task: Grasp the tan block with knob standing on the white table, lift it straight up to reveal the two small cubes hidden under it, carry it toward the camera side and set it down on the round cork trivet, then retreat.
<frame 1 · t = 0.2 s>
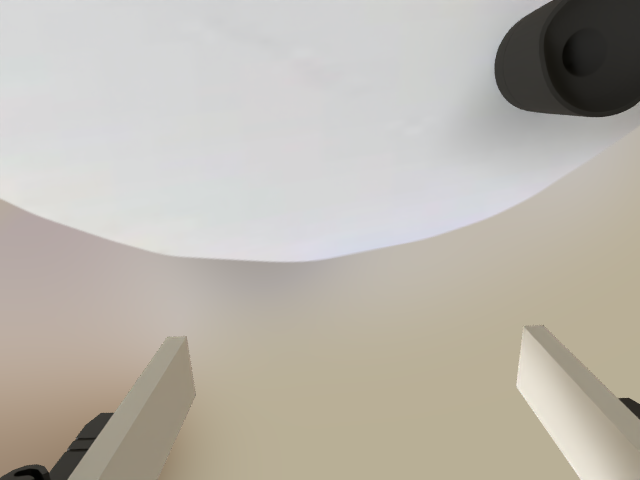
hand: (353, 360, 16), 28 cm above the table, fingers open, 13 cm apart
pen holder: (538, 63, 39), on the table
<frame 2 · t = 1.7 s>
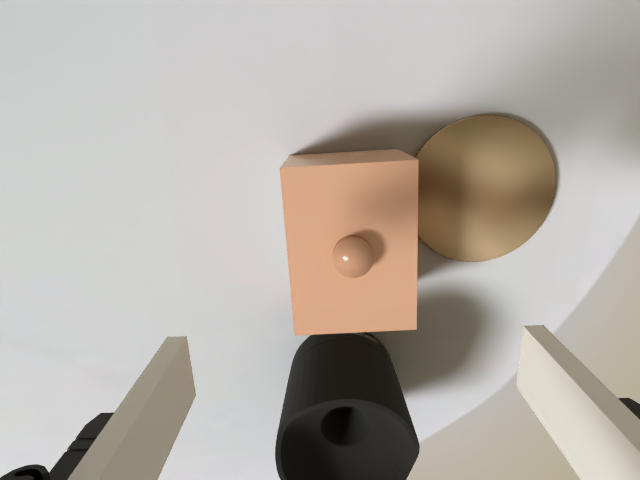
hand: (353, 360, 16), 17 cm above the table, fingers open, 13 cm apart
tan block with knob: (346, 223, 32), on the table
pen holder: (341, 366, 36), on the table
cork trivet: (477, 190, 31), on the table
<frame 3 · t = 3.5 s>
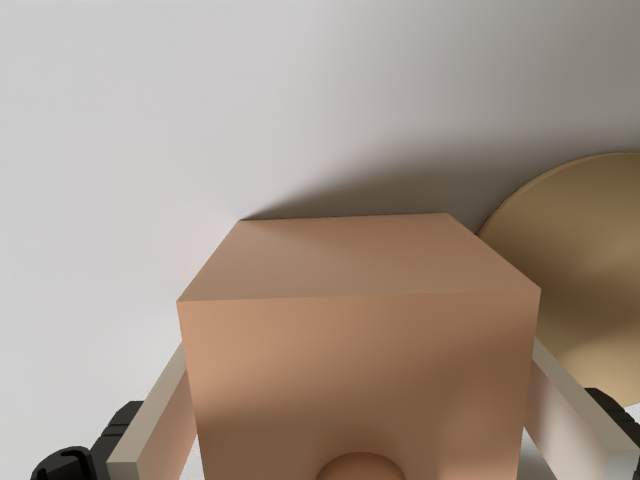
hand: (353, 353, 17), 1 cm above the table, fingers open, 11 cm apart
tan block with knob: (345, 343, 17), on the table
cork trivet: (592, 291, 17), on the table
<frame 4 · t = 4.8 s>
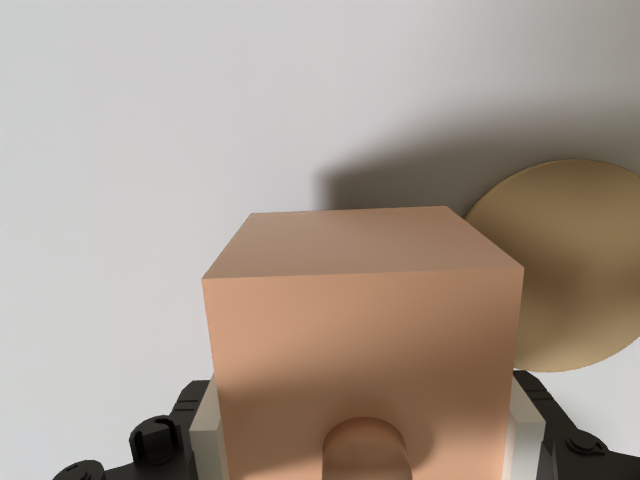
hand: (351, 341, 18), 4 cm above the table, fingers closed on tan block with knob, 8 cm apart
tan block with knob: (351, 328, 19), point 3 cm above the table, touching gripper
cork trivet: (555, 270, 21), on the table
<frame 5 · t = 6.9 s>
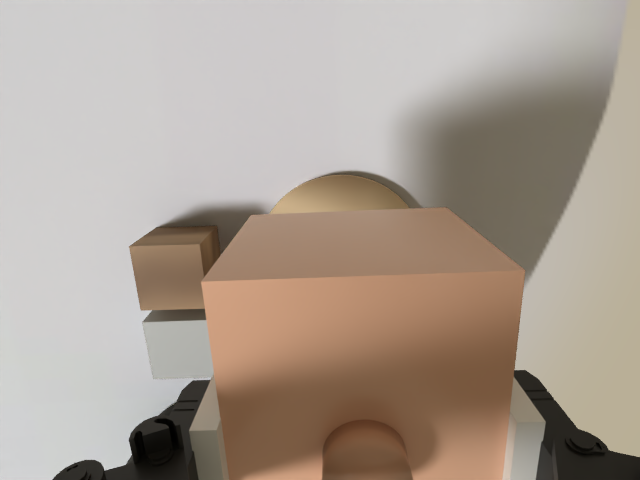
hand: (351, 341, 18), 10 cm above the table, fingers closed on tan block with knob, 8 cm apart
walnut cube: (190, 255, 28), on the table
tan block with knob: (351, 330, 18), point 9 cm above the table, touching gripper
light gray cube: (199, 318, 29), on the table
cork trivet: (340, 257, 27), on the table
when the fingers open (2 cm above the table, at t = 8.8 s): tan block with knob stays where it is, resting on cork trivet.
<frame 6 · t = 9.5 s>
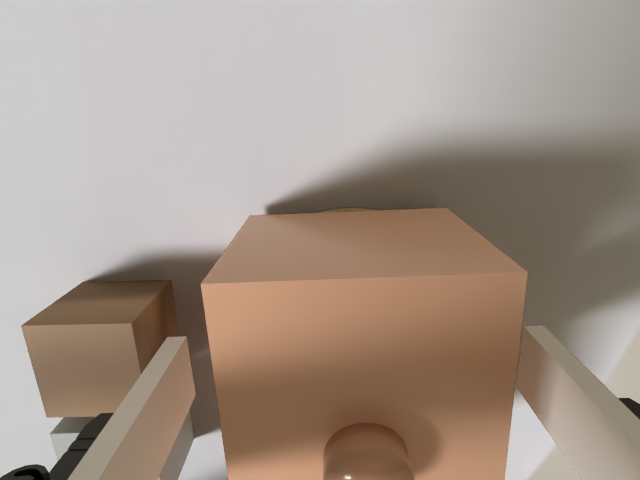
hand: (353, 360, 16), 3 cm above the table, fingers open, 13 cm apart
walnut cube: (134, 320, 19), on the table
tan block with knob: (350, 331, 18), point 1 cm above the table, touching cork trivet
light gray cube: (149, 405, 21), on the table
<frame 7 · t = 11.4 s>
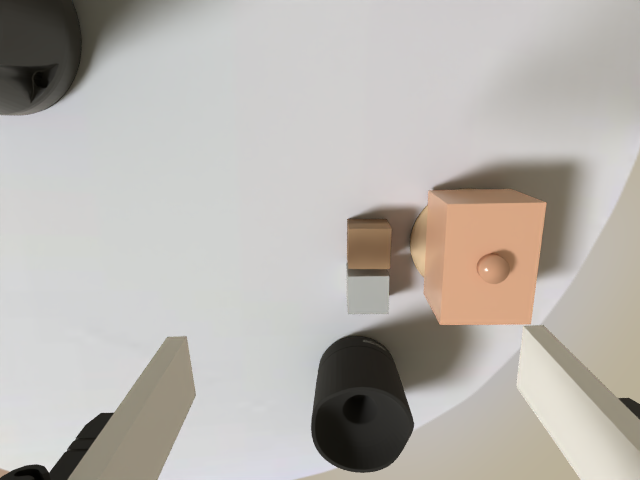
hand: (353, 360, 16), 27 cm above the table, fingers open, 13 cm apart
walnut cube: (366, 237, 43), on the table
tan block with knob: (465, 243, 42), point 1 cm above the table, touching cork trivet
light gray cube: (365, 280, 44), on the table
pen holder: (356, 367, 47), on the table
cork trivet: (463, 241, 43), on the table
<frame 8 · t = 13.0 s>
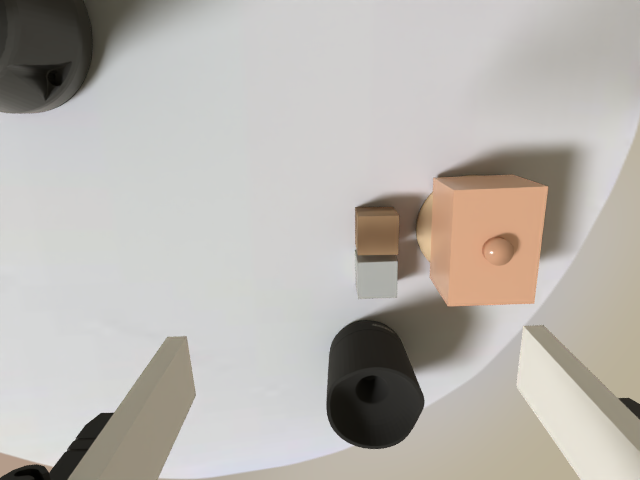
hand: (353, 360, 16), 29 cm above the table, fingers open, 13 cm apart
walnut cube: (373, 225, 44), on the table
tan block with knob: (469, 228, 44), point 1 cm above the table, touching cork trivet
light gray cube: (373, 266, 46), on the table
pen holder: (365, 350, 49), on the table
cork trivet: (467, 226, 44), on the table
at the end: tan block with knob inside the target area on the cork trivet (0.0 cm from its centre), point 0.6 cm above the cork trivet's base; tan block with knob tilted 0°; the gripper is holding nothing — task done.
